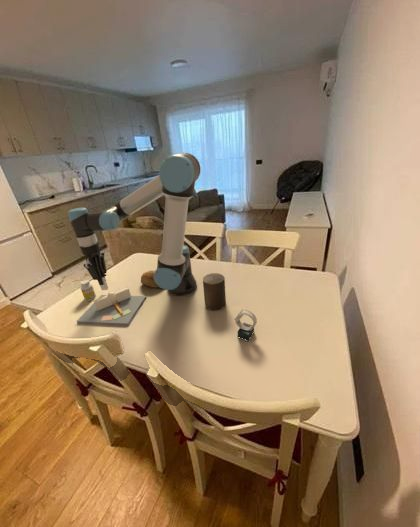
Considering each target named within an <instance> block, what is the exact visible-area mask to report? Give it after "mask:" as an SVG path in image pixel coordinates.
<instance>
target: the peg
mask: <svg viewBox="0 0 420 527" xmlns="http://www.w3.org/2000/svg"><path fill="white" fill-rule="evenodd" d="M105 295H106V296H104V297H101V298H99V297H98V298H99V299H98V298H96V299H93V303H94V304H95V307H96V309H97V311H99V310H101V309H103V308H106V307H108V306H111V305H115V306H116V308H117V309H118V310H119V312H120V313H121V314H123V312H122V311H121V310H120V308H119V307H118V305H117V303H118V302H120V301H123V300H125V299H127V298H130V297H131V296H132V295H131V291H130V288H129V287H125V288H121V289H119V290H117V291H114V290H112V291H108V293H107V294H105Z"/></svg>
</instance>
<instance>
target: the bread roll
mask: <svg viewBox="0 0 420 527" xmlns="http://www.w3.org/2000/svg"><path fill="white" fill-rule="evenodd" d="M154 272H155V270H148V271H145V272H143V273H142V274H141V276H140V283H141V284H142V285H143V286H146V287H151V288H158V289H159V288H160V287H159V286H158V285H157V284H156V283H155V281H154V278H153V276H154Z"/></svg>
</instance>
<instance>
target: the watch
mask: <svg viewBox="0 0 420 527" xmlns="http://www.w3.org/2000/svg"><path fill="white" fill-rule="evenodd" d="M244 315H245V316H247V317H249V318H250V319H251V320H252V321H253V323H252V324H250V323H246V322H241V319H242V317H243V316H244ZM234 321H235V323H236V325H237V327H238V328H239V329H238V330H237V338H238V337H240V338H243V339H246V340H249V338H250V337H251V338H252V336H253V335H252V333H253V332H254V333H255V326H256V325H257V323H258V321H257V317H256V315H255V314H254V313H253V312H252V311H250V310H248V309H241V310H240V312H239V313H237V315H236V317H235V318H234ZM254 333H253V334H254ZM251 335H252V336H251ZM240 338H239V339H240ZM251 338H250V339H251ZM243 339H242V340H243ZM249 341H250V340H249Z"/></svg>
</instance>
